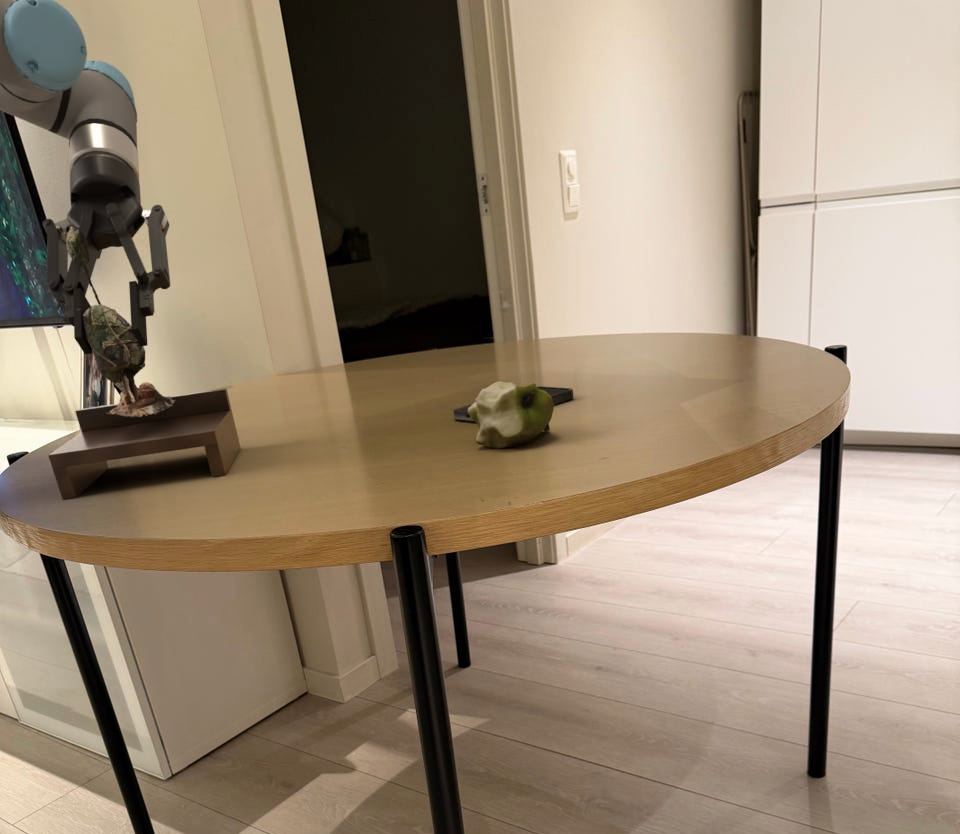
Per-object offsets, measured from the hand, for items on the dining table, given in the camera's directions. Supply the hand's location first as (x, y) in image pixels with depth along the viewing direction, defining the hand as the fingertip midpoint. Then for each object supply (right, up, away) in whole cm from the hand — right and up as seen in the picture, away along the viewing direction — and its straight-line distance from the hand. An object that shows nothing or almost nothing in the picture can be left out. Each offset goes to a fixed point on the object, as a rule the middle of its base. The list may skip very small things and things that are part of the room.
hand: (111, 341), depth 95 cm
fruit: (+43, -11, +1) cm, 45 cm away
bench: (+1, -12, +10) cm, 16 cm away
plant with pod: (+1, -6, +7) cm, 9 cm away
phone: (+44, -3, +18) cm, 48 cm away
